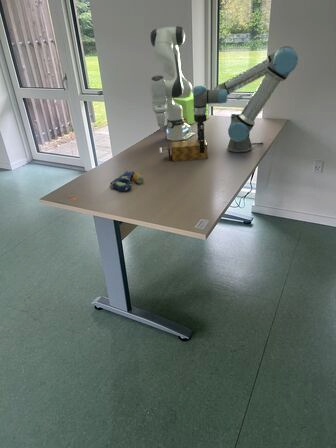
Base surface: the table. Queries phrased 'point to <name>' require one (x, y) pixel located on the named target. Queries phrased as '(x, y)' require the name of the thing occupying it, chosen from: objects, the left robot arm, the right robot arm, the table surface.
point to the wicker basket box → (187, 150)
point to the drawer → (167, 151)
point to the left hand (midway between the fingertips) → (161, 129)
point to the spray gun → (126, 180)
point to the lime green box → (188, 108)
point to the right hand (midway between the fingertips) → (201, 149)
